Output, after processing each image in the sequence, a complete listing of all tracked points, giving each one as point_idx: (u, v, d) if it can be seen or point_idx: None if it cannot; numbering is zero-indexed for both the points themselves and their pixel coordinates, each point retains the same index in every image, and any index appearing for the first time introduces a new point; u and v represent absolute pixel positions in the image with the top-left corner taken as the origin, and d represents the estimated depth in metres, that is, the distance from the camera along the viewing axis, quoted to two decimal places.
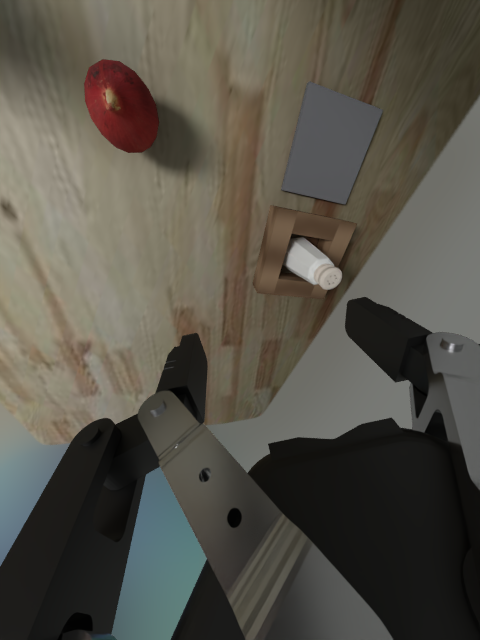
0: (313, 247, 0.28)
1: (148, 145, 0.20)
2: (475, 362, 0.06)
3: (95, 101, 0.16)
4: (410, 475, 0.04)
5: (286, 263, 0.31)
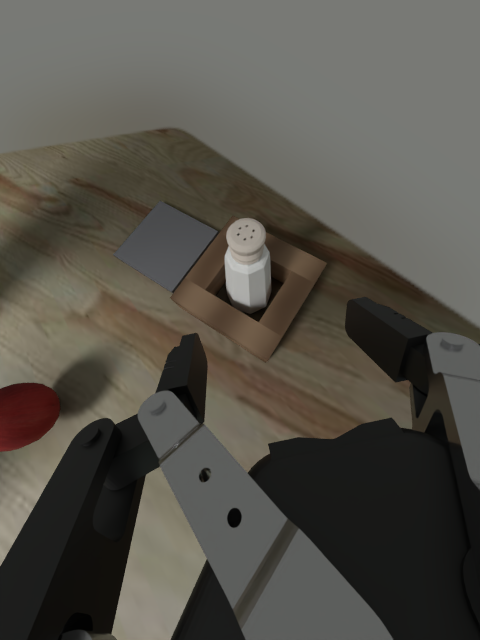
0: None
1: (44, 409, 0.18)
2: (475, 362, 0.06)
3: None
4: (410, 475, 0.04)
5: (247, 305, 0.22)
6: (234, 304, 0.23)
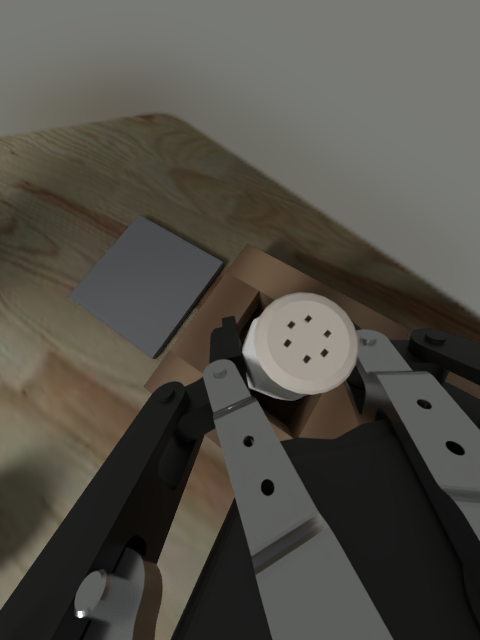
0: None
1: None
2: (378, 355, 0.06)
3: None
4: (410, 475, 0.04)
5: (272, 396, 0.13)
6: None
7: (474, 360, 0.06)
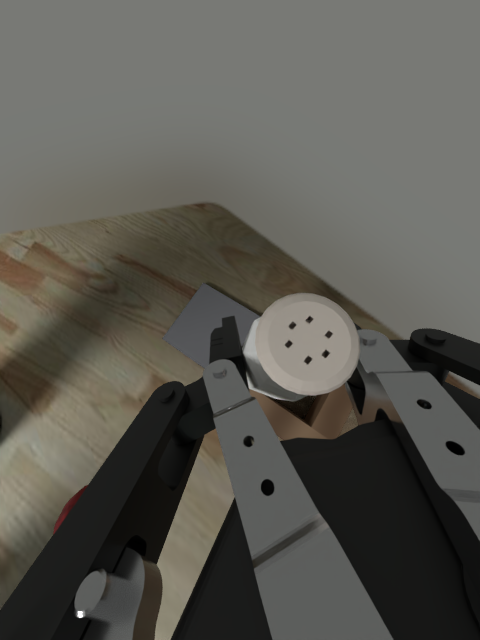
0: None
1: None
2: (379, 355, 0.06)
3: None
4: (410, 475, 0.04)
5: (273, 397, 0.13)
6: (250, 388, 0.14)
7: (474, 360, 0.06)
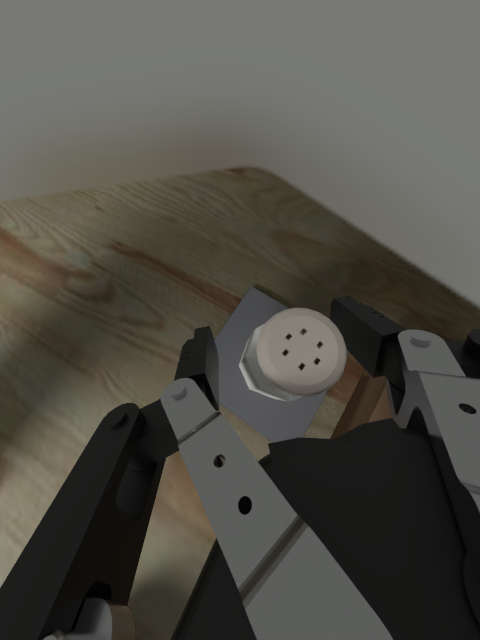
0: (248, 341, 0.13)
1: None
2: (438, 357, 0.06)
3: None
4: (410, 475, 0.04)
5: (272, 397, 0.14)
6: (251, 389, 0.15)
7: None
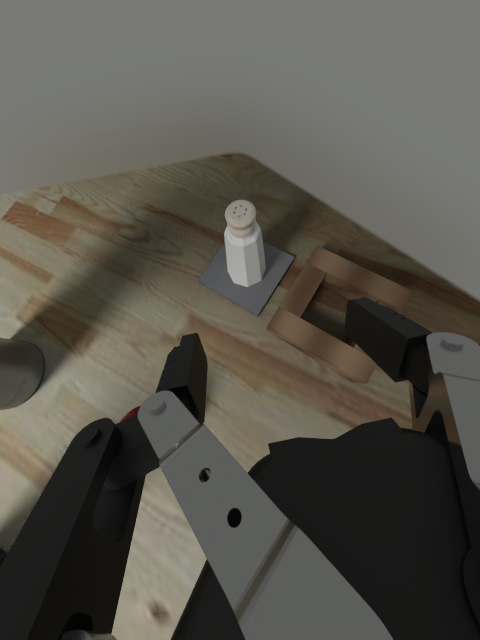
0: None
1: None
2: (475, 362, 0.06)
3: None
4: (410, 475, 0.04)
5: (244, 278, 0.26)
6: (234, 278, 0.27)
7: None
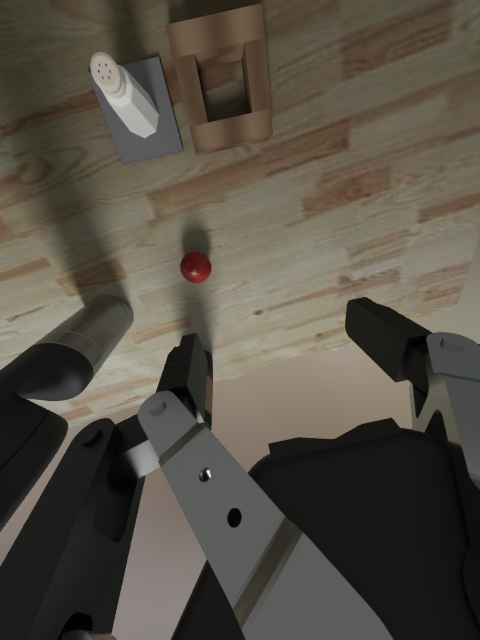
0: None
1: (203, 255, 0.37)
2: (475, 362, 0.06)
3: (198, 278, 0.37)
4: (410, 475, 0.04)
5: (149, 126, 0.29)
6: (142, 133, 0.30)
7: None
